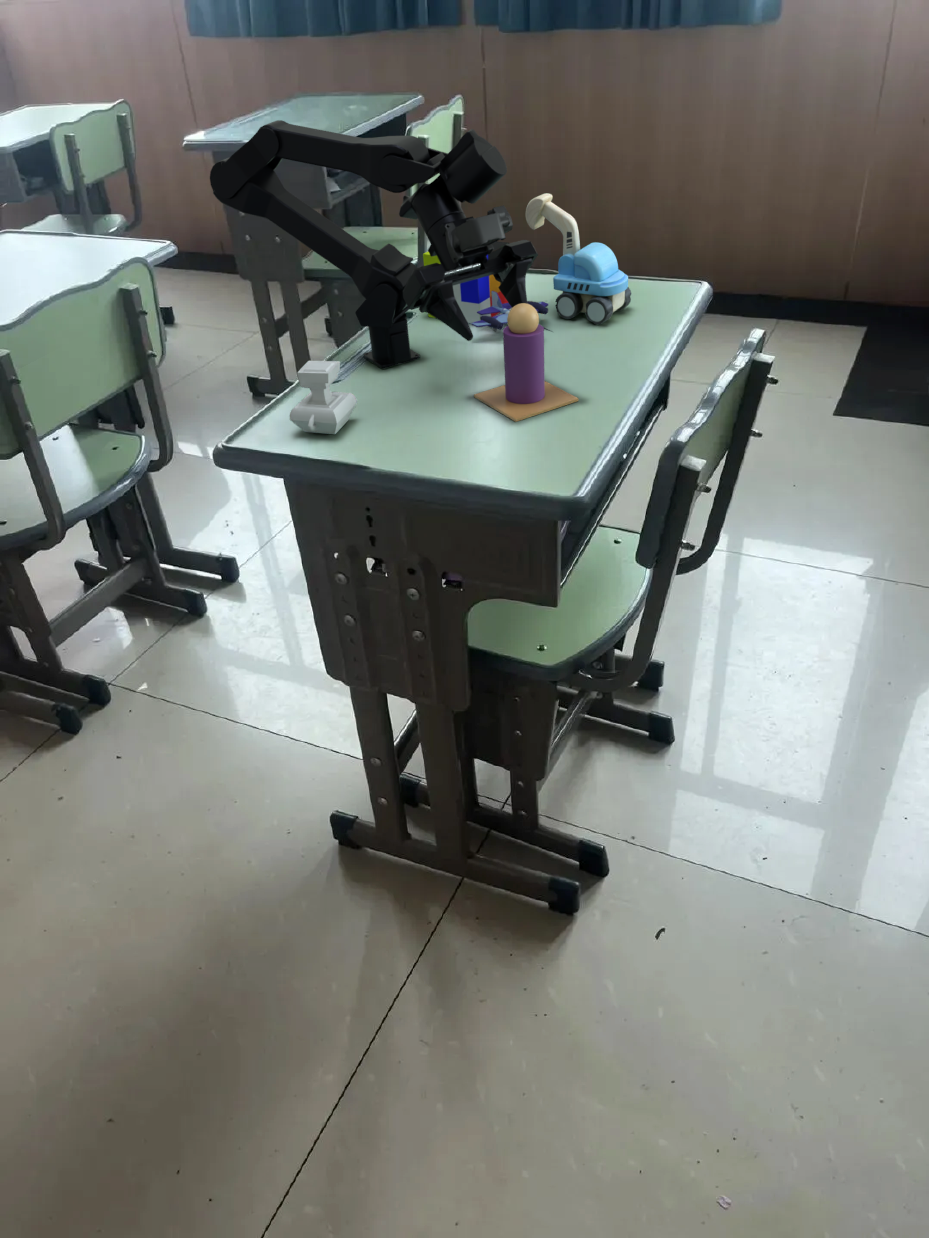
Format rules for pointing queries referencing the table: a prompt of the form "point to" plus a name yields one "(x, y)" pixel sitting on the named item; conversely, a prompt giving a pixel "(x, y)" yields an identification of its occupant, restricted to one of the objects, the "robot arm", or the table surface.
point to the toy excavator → (581, 268)
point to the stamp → (322, 399)
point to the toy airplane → (503, 313)
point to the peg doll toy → (524, 355)
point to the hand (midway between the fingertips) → (499, 330)
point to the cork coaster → (522, 411)
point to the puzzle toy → (474, 289)
